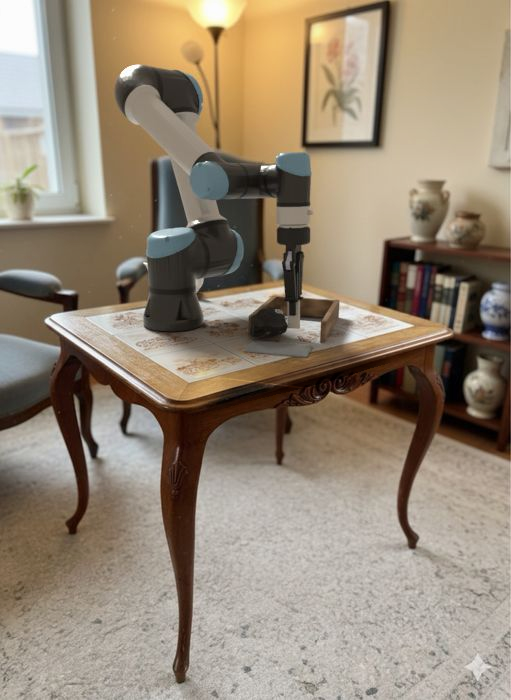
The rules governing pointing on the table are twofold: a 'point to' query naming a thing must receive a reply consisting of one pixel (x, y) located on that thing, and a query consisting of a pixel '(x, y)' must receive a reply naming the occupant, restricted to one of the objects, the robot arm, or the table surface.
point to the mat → (279, 348)
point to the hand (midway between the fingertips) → (293, 327)
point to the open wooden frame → (308, 312)
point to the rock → (268, 323)
